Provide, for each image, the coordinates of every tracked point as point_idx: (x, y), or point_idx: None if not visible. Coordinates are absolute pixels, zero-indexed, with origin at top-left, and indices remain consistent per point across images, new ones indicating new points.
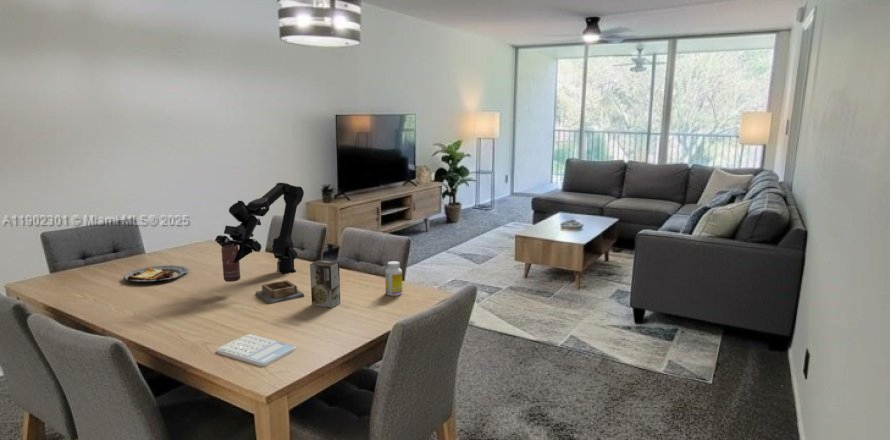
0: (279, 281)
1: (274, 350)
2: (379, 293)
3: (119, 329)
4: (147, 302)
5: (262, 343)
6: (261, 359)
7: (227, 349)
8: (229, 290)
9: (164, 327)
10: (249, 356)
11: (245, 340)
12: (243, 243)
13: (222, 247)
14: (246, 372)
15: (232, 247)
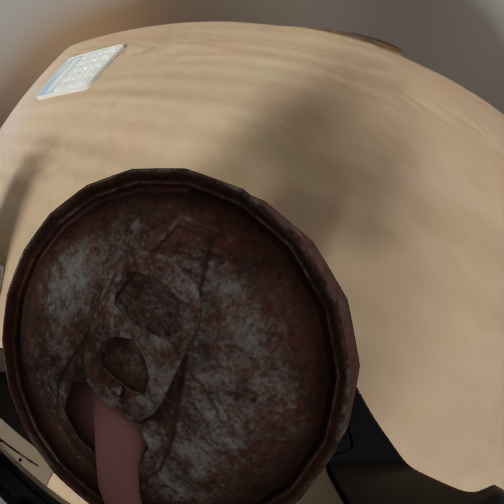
0: None
1: (56, 78)
2: None
3: (352, 44)
4: (466, 172)
5: (67, 77)
6: (70, 61)
7: (108, 48)
8: None
9: (271, 54)
10: (82, 57)
11: (88, 69)
12: (12, 488)
13: (255, 201)
14: (85, 48)
15: (34, 248)
